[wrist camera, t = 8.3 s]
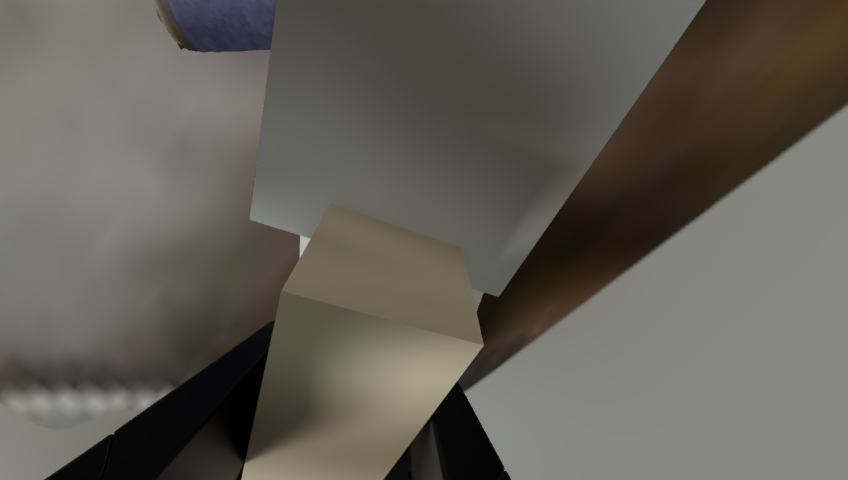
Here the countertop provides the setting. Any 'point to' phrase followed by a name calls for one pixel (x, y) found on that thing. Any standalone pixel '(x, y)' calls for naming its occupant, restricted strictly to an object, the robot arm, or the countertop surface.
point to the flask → (219, 23)
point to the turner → (419, 195)
